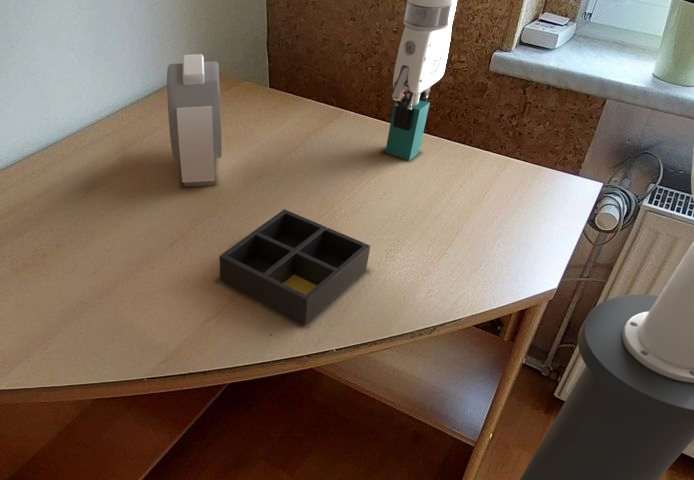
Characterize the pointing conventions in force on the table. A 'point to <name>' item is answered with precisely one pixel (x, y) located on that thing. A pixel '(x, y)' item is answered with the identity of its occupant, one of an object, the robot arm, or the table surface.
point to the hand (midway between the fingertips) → (408, 122)
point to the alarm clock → (195, 118)
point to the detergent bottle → (408, 132)
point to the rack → (294, 265)
